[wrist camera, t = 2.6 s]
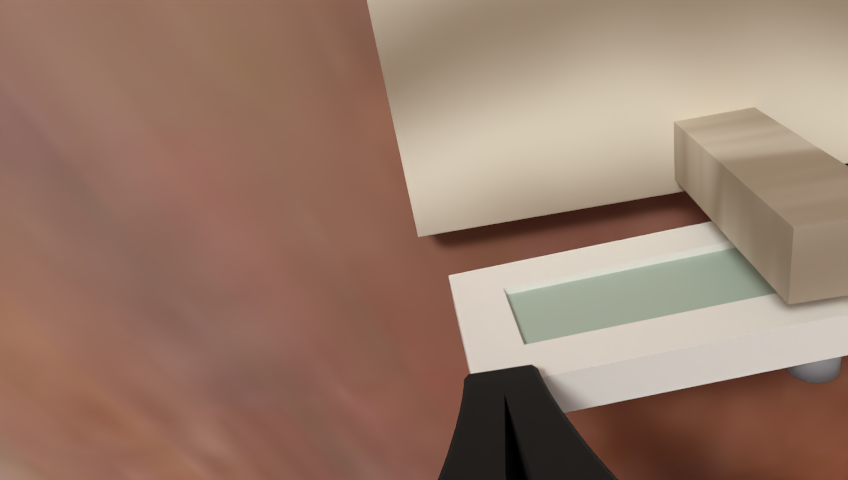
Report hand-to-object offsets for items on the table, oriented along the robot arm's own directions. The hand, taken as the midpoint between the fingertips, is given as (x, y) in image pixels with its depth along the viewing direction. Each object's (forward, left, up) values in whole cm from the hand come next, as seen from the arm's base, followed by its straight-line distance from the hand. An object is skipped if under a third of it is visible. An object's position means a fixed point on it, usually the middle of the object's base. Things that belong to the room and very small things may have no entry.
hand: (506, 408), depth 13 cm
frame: (0, -6, -5) cm, 8 cm away
